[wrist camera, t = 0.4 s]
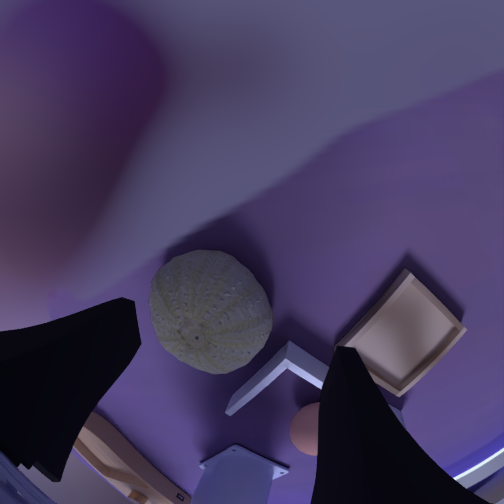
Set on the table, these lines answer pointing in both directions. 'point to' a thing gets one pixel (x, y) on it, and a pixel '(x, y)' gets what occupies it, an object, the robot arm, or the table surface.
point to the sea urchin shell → (210, 311)
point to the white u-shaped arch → (283, 359)
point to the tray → (403, 334)
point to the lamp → (124, 464)
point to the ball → (305, 429)
